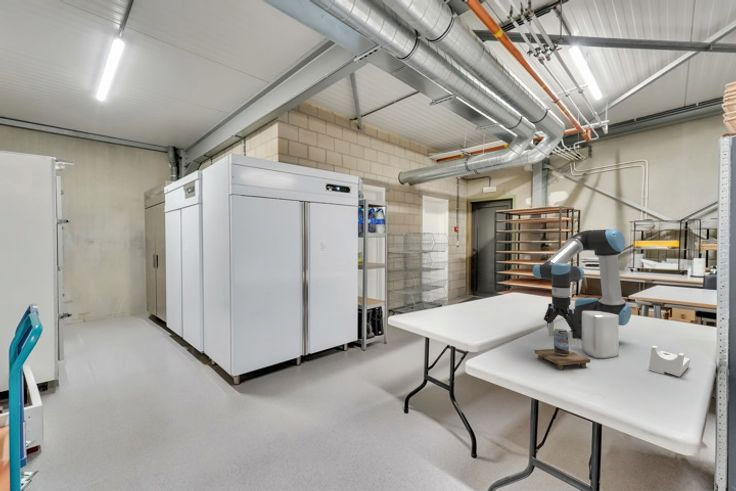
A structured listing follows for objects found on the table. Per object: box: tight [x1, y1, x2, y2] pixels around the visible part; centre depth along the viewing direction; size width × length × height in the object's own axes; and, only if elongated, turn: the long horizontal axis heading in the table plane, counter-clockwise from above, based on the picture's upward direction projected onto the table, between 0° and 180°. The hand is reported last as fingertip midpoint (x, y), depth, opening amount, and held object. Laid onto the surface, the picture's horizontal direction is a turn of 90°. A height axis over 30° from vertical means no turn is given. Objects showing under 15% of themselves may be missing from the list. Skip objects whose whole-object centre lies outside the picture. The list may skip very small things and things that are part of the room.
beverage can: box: [553, 328, 570, 355], centre depth 150 cm, size 6×7×12 cm
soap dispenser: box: [581, 311, 620, 359], centre depth 159 cm, size 15×14×22 cm
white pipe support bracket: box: [648, 344, 691, 378], centre depth 141 cm, size 18×10×10 cm, turn 125°
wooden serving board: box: [534, 347, 591, 371], centre depth 150 cm, size 16×16×4 cm
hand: (561, 340), depth 150 cm, fingers open, 13 cm apart
